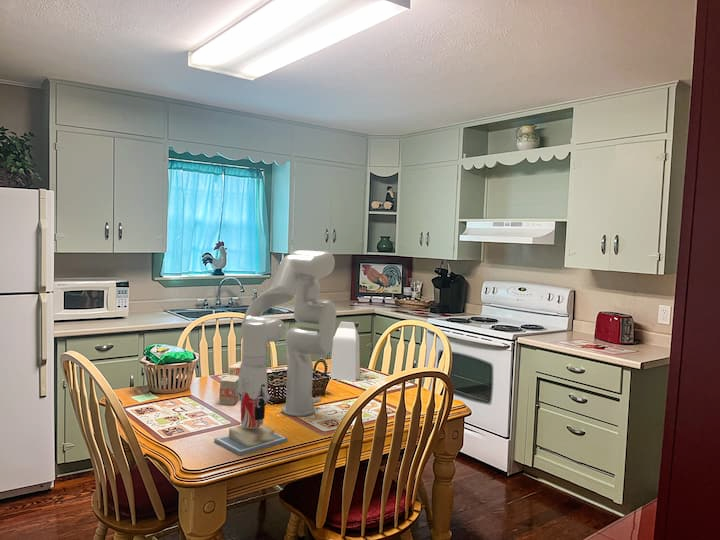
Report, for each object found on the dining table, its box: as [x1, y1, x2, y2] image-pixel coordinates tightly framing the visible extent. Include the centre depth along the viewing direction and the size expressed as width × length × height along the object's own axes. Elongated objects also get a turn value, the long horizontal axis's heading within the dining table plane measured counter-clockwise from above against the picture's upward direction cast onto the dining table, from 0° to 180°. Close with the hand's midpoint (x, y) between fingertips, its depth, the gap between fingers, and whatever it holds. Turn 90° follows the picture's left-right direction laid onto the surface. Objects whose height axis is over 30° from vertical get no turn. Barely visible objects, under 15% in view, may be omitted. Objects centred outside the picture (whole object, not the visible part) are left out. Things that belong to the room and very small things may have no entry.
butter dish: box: [213, 424, 289, 456], centre depth 177 cm, size 18×14×4 cm
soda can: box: [240, 390, 264, 429], centre depth 177 cm, size 7×7×12 cm
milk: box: [329, 321, 361, 381], centre depth 260 cm, size 12×12×26 cm
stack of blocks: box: [218, 360, 242, 406], centre depth 224 cm, size 21×6×12 cm, turn 172°
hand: (252, 415), depth 177 cm, fingers closed on soda can, 7 cm apart
